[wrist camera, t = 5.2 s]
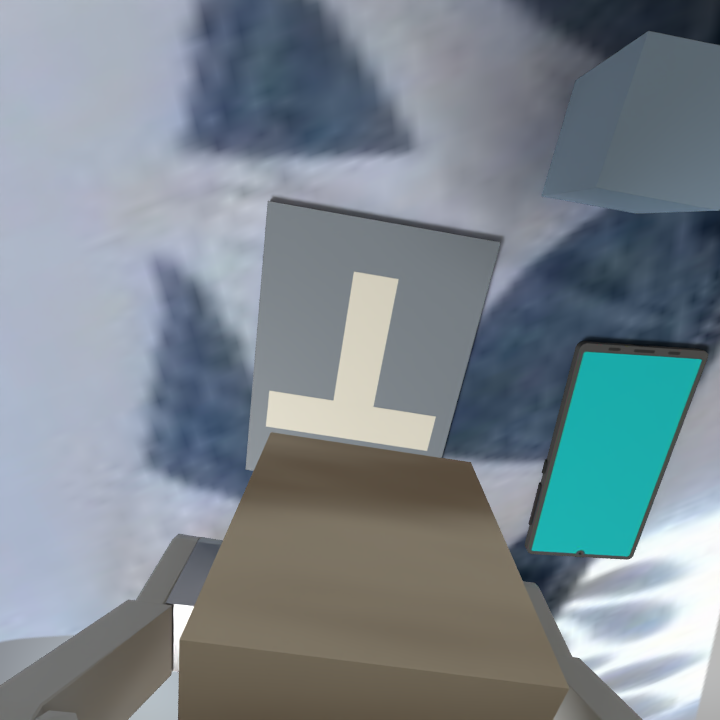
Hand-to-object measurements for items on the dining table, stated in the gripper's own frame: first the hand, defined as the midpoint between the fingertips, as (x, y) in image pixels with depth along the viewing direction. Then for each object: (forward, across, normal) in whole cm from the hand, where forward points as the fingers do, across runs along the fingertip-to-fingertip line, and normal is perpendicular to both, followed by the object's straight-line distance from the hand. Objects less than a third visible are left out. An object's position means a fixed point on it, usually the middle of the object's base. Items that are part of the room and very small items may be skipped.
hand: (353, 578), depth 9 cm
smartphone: (+15, -16, +4) cm, 22 cm away
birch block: (+2, 0, 0) cm, 2 cm away
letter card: (+15, 0, 0) cm, 15 cm away
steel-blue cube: (+15, -10, -13) cm, 22 cm away
